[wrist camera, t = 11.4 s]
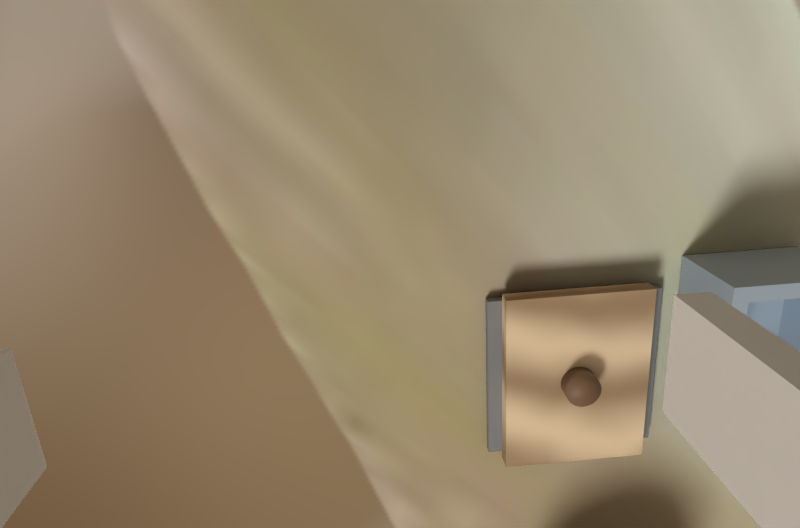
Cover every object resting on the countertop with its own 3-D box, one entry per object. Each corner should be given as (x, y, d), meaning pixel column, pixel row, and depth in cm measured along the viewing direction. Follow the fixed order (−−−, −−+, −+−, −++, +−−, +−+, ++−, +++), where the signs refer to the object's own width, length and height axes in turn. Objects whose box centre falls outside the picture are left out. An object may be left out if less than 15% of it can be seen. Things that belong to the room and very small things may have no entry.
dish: (682, 255, 41) (734, 288, 35) (796, 246, 41) (866, 277, 36) (666, 408, 45) (710, 459, 39) (770, 398, 45) (829, 447, 40)
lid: (502, 294, 40) (510, 308, 38) (648, 282, 41) (665, 295, 39) (502, 456, 45) (510, 478, 42) (634, 444, 45) (649, 465, 43)
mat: (485, 298, 41) (487, 301, 40) (658, 284, 42) (662, 287, 41) (487, 446, 45) (488, 451, 44) (644, 432, 46) (648, 437, 45)
